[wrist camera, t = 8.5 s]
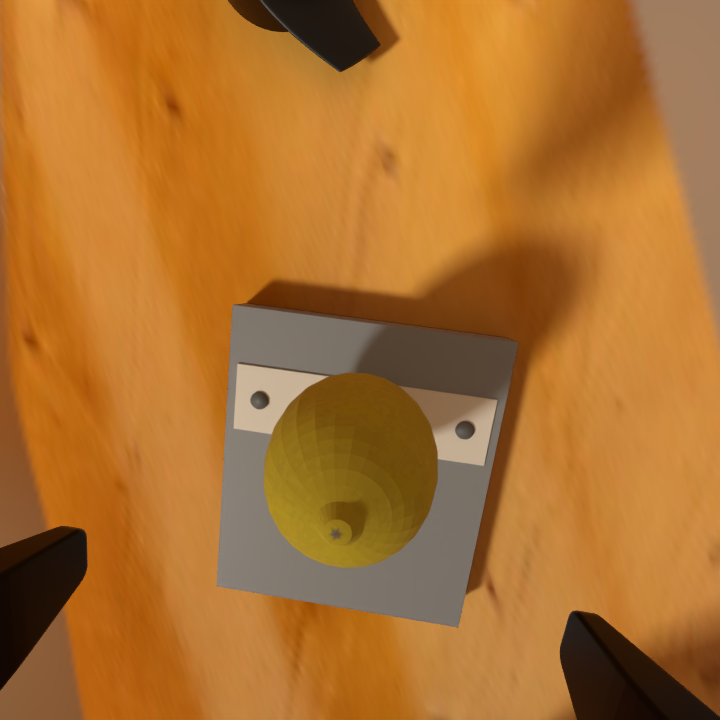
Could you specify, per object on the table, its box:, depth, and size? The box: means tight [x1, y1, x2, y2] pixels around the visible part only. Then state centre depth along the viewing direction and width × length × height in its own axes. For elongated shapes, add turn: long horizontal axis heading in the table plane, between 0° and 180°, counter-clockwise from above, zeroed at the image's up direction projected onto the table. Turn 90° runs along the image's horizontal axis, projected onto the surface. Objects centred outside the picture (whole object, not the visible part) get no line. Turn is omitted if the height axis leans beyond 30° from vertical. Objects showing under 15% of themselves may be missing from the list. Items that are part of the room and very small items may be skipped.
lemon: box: [264, 373, 438, 568], centre depth 13 cm, size 6×6×8 cm
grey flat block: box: [217, 303, 519, 627], centre depth 18 cm, size 14×12×2 cm
